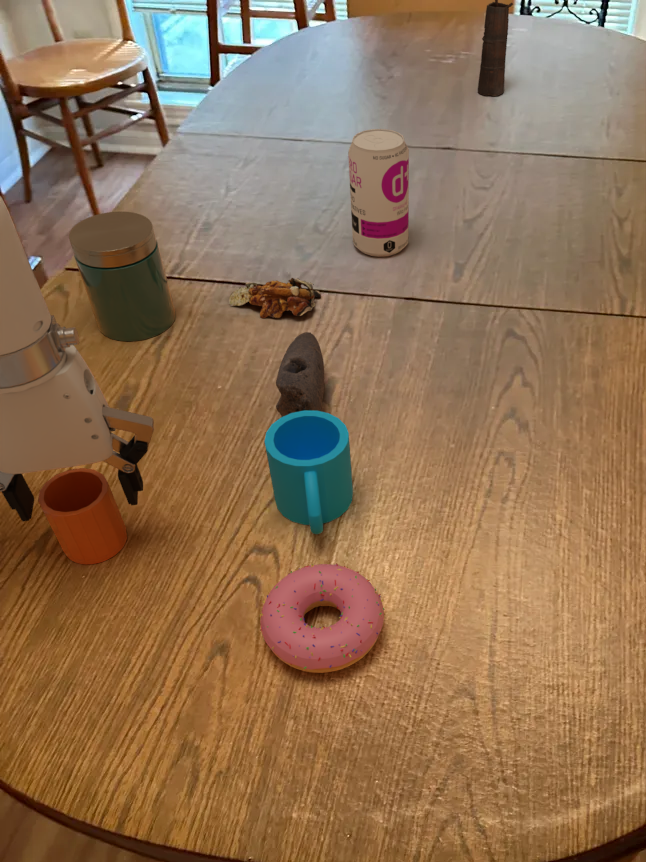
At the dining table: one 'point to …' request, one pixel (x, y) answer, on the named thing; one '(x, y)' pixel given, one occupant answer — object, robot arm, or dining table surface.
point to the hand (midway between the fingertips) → (82, 502)
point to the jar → (130, 298)
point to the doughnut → (327, 644)
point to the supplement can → (379, 191)
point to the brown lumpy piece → (277, 297)
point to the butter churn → (494, 49)
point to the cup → (83, 515)
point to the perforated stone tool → (301, 376)
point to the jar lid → (112, 239)
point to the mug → (310, 467)
